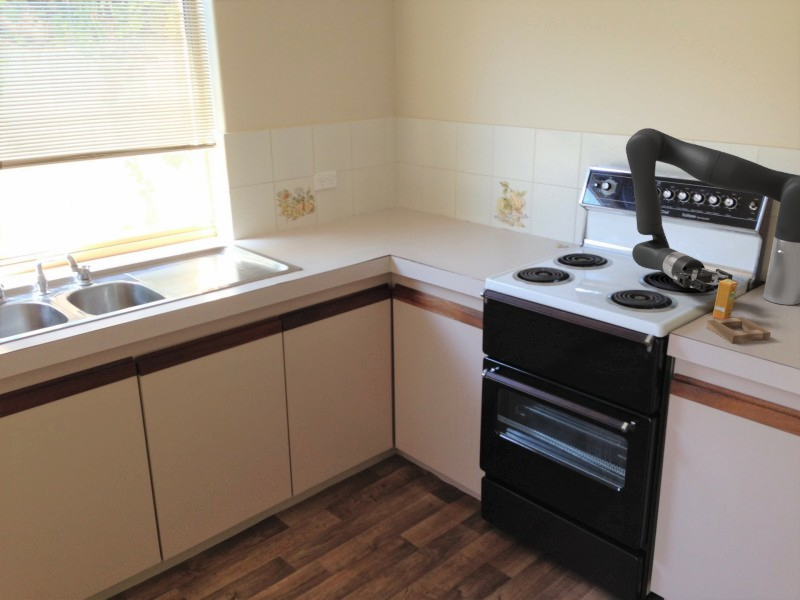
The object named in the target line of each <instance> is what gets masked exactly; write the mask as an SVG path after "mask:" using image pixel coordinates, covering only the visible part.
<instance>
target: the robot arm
mask: <svg viewBox="0 0 800 600" xmlns="http://www.w3.org/2000/svg"><path fill="white" fill-rule="evenodd" d="M627 140H628V141H626V145H625V154H626V157H627V163H628V166H629V170H630V174H631V180H632V186H633V193H634V202H635V216H636V218H635V219H636V230H637V232H638V233H639V235H642V236H652V239H649V240H646V241H642V242H639V243H637V244H635V245H634V247H633V248H632V252H631V255H632V256H631V257H632V259H633V260H634V262H635V264H637V265H638V266H640V267H642V268H645V269H649V270H652V271H660V272H662V274H663V273H664V274H666V275H667V276H668V277H669V278H671V279H672V281H673V282H674V283H675V284H677V285H679V286H680V287H682V288H684V289H685V288H688V287H689V288H691V289H696V290H698V291H700V292H702V293H703V292H706V290H707V285H711V286H717V285H719V282H720V281H722V280H726V279H729V280H732V281H735V280H733V276H734V275H733V274H731V273H730V272H728V271H724V270H723V269H720V268H716V269H715V271H714V270H710V269H708V268H706V267H705V265H704V264H703V262H702V261H700V260H699V259H696V258H695V257H693V256H690V255H689V254H686V253H683V252H680V251H678V250H676V249H673V248H670V245H669V241H668V239H667V236H666V233H665V230H664V227H663V218H662V217H663V216H662V215H663V214H662V205H661V203H662V202H661V199H660V196H659V192H658V187H657V182H656V166H657V165H656V164H657V162H659V163H663V164H666V165H667V164H668V165H671V166H674V167H676V168H678V169H680V170H682V171H684V172H685V173H687V174H688V175H690V176H691V177H693V178H694V179H695V180H698V181H700V182H702V183H705V184H706V185H708V186H709V185H710V186H713V187H716V188H720V189H722V190H726V191H731V192H739V193H746V194H755V195H760V196H763V197H766V198H768V199H772V200H774V201H776V202H778V203H779V208H778V214H777V220H776V225H775V231H774V235H773V241H772V247H771V253H770V257H769V258H770V259H769V262H768V269H767V274H766V280H765V285H764V290H763V295H762V297H763V298H764V299H765V300H766V301H768V302H771V303H775V304H778V305H779V304H780V305H789V306H792V305H798V304H800V174H795V173H794V174H793V173H790V172H784V171H780V170H775V169H772V168H768V167H767V166H764V165H762V164H759V163H756V162H755V161H752V160H748V159H746V158H743V157H741V156H739V155H738V156H737V155H735V154H731V153H729V152H725V151H721V150H719V149H718V150H717V149H714V148H710V147H707V146H703V145H700V144H695V143H691V142H687V141H683V140H681V139H679V138H676V137H674V136H672V135H669V134H667V133H664V132H662V131H660V130H657V129H655V128H651V127H650V128H649V127H645V128H642V129H639V130H638V131H636V132H635V133H634V134H632V136H630V138H629V139H627ZM713 278H714V280H713ZM712 280H713V281H712Z"/></svg>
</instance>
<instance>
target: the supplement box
mask: <svg viewBox="0 0 800 600" xmlns="http://www.w3.org/2000/svg"><path fill="white" fill-rule="evenodd" d="M732 280H733V279H732ZM732 280H729V279H726V280H722V281H720V280H719V281H720V282H719V284H718V288H717V291H716V292H717V293H716V298H715V303H714V308H713V313H712V318H714V319H715V320H718V319H729V318H732V311H733V307H734V302H735V299H736V298H735V297H736V293H737V288H738V284H739V283H738V282H737V281H736V280H734V281H732Z"/></svg>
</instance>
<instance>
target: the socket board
mask: <svg viewBox="0 0 800 600" xmlns="http://www.w3.org/2000/svg"><path fill="white" fill-rule="evenodd" d="M705 329H707V330H709V331H710V330H711V332H712V333H713V334H715V333H716V334H715V335H717V336H719V337H720V336H721V337H720V338H723V339H724V340H726V341H727V342H729V343H731V345H732V344H734V345H735V344H743V343H752V342H753V343H754V342H762V341H770V339H771V338H770V337H771V333H772V332H771V331H769V330H767V329H766V328H764V327H761V325H758V324H756V323H755V322H752V321H751V320H748V318H745V317H744V316H743V317H730V318H729V319H709V320H708V319H707V321H706V327H705ZM736 329H737V330H738V329H740V330H741V331H739V330H738V331H735V330H736Z"/></svg>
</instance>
